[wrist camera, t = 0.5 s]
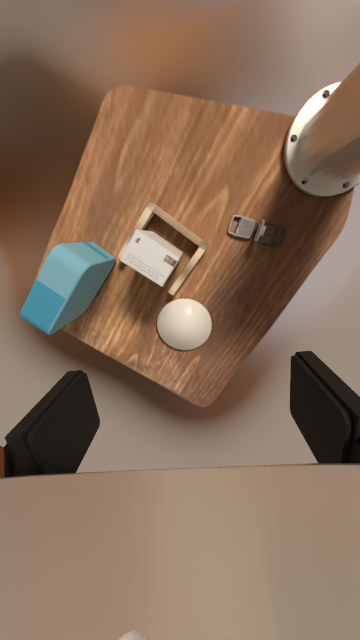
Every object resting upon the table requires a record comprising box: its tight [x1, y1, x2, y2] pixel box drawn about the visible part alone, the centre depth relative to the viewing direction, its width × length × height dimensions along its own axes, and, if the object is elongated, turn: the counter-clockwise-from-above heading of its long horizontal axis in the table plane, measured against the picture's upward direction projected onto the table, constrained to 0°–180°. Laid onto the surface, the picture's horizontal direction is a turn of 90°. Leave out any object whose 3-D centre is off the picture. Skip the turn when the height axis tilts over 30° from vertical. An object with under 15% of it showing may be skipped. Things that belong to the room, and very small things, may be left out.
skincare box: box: [120, 229, 183, 287], centre depth 33 cm, size 6×4×12 cm
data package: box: [20, 242, 116, 335], centre depth 35 cm, size 12×4×12 cm, turn 144°
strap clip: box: [227, 215, 285, 247], centre depth 35 cm, size 8×3×4 cm, turn 75°
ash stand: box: [118, 201, 209, 295], centre depth 37 cm, size 10×10×2 cm
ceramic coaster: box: [157, 298, 212, 350], centre depth 42 cm, size 10×10×1 cm
